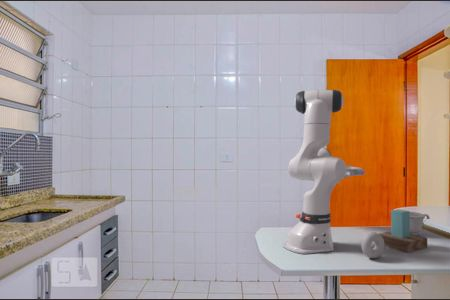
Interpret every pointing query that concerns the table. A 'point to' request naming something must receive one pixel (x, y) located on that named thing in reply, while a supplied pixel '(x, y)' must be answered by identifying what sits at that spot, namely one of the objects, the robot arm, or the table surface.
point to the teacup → (416, 222)
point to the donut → (377, 248)
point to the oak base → (404, 242)
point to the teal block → (400, 223)
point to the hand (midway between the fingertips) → (357, 173)
